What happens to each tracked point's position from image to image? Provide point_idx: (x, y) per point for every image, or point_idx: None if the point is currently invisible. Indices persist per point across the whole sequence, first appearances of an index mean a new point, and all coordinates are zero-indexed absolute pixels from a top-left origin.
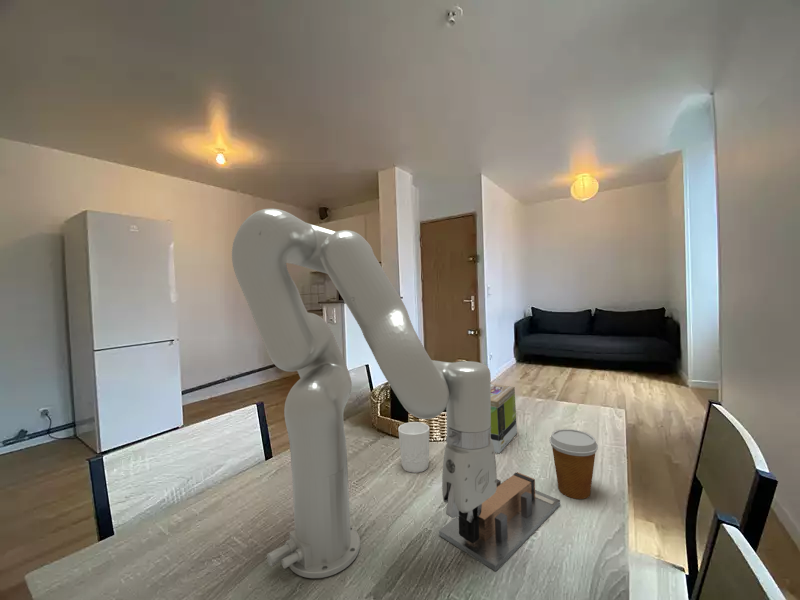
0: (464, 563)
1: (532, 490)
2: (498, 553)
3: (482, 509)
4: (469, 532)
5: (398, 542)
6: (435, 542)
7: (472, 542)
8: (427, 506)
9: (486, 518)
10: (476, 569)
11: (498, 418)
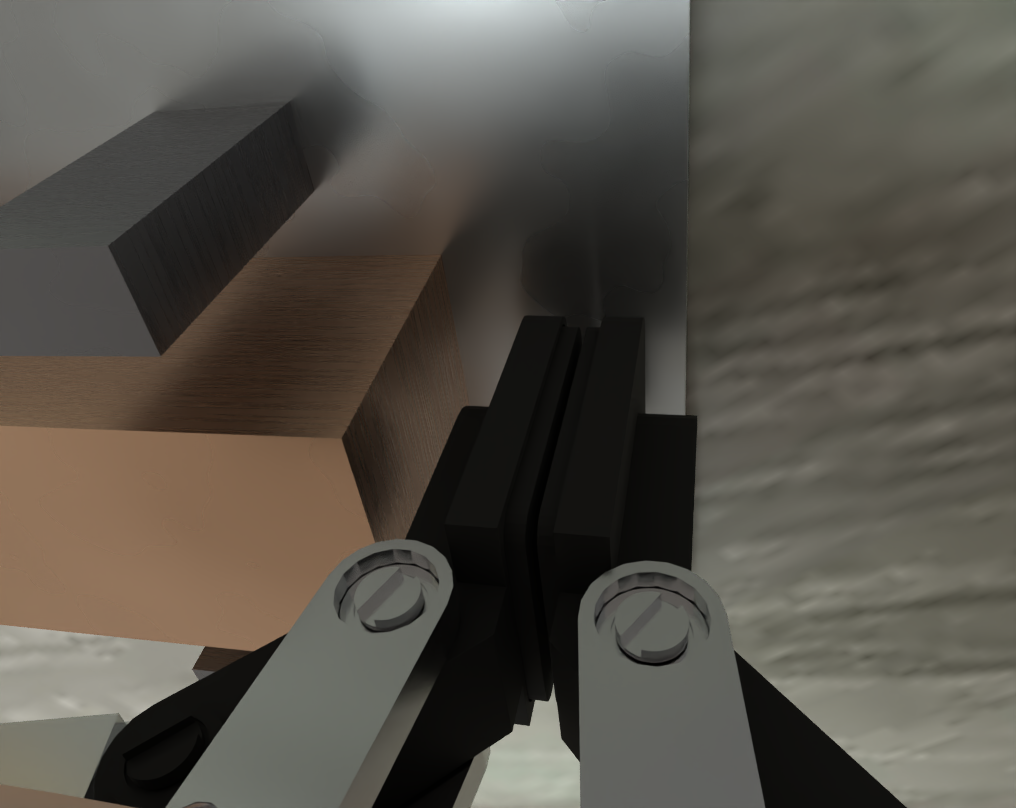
0: (842, 236)
1: None
2: (457, 7)
3: (220, 550)
4: (644, 442)
5: (990, 721)
6: (779, 557)
7: (641, 332)
8: (496, 742)
9: (293, 432)
10: (835, 77)
11: None
